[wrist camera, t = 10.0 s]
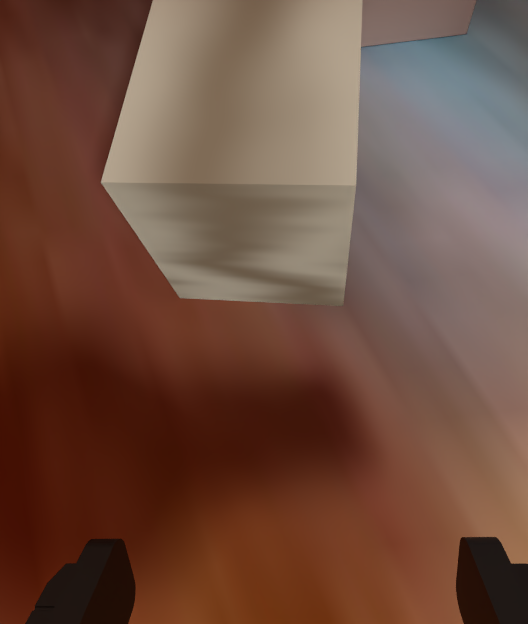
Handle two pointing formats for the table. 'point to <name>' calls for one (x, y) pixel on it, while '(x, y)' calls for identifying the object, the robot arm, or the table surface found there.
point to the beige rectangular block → (243, 147)
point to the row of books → (413, 20)
